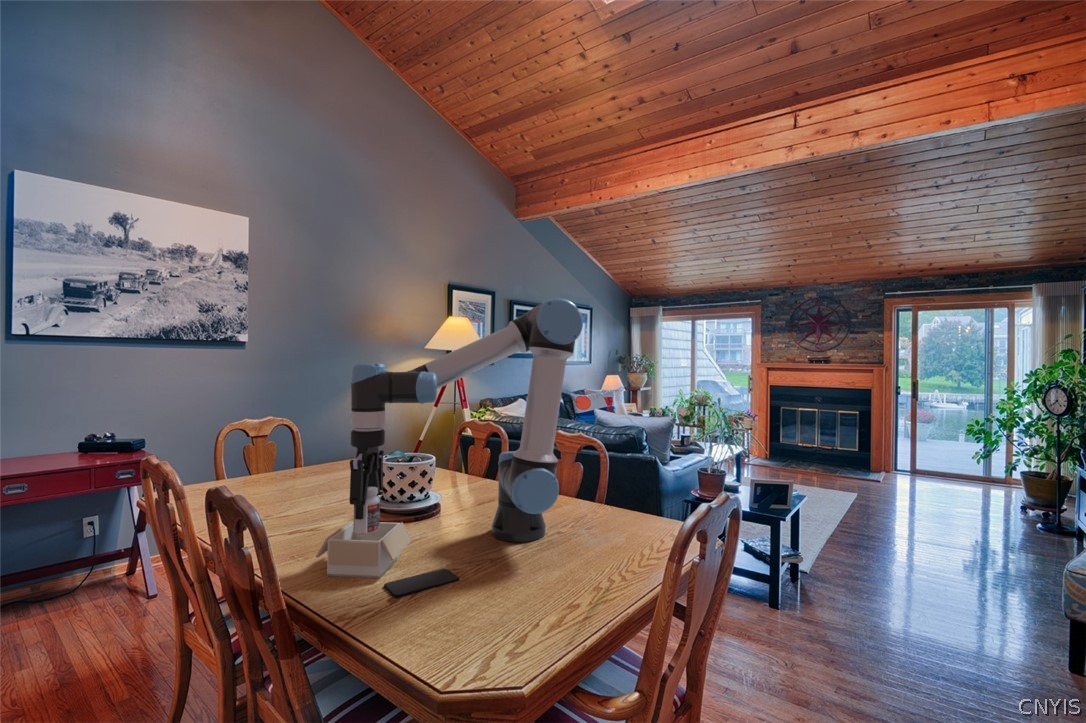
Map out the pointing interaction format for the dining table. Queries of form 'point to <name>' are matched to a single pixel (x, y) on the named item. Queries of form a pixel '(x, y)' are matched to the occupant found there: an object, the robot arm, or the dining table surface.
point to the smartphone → (420, 583)
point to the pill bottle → (372, 511)
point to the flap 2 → (396, 541)
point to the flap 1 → (325, 544)
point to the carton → (359, 553)
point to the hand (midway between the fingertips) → (366, 527)
